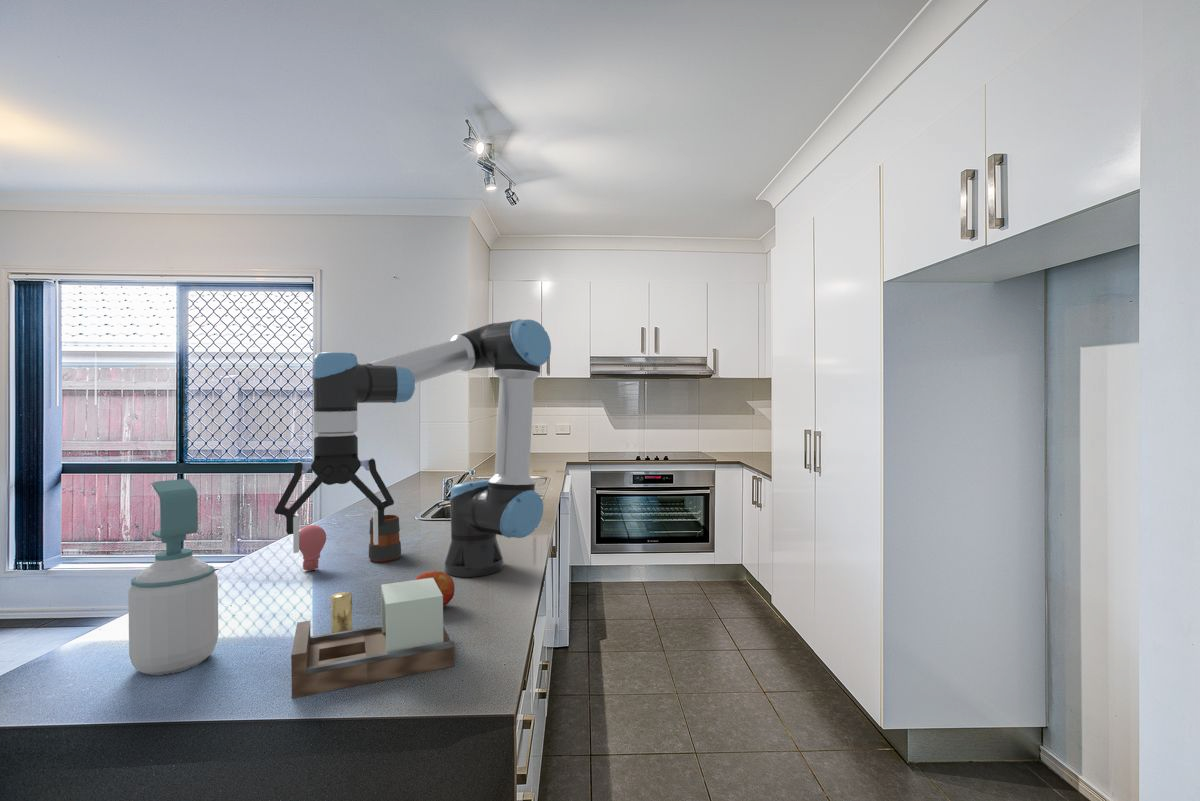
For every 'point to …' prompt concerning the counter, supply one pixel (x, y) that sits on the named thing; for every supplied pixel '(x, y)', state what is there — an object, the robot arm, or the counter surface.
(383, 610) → the cover
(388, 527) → the mug
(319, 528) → the light bulb
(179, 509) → the soap bottle
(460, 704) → the counter surface
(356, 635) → the housing base
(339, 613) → the brass peg
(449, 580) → the apple
